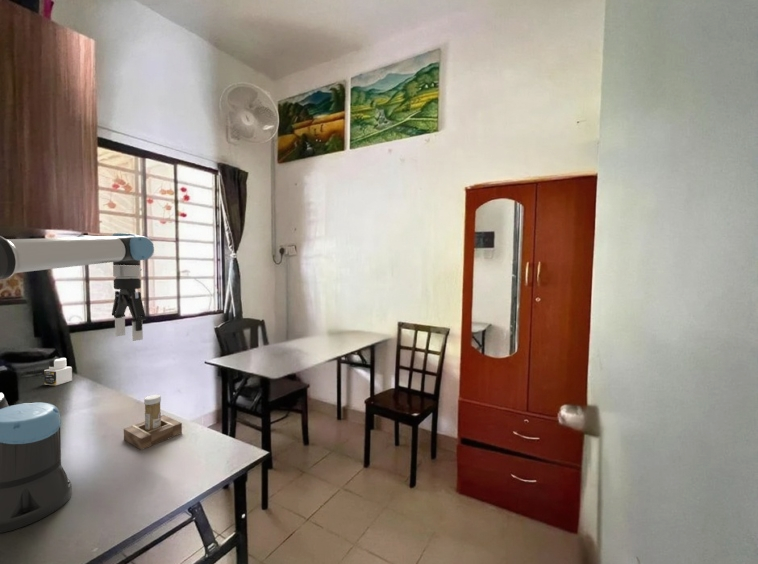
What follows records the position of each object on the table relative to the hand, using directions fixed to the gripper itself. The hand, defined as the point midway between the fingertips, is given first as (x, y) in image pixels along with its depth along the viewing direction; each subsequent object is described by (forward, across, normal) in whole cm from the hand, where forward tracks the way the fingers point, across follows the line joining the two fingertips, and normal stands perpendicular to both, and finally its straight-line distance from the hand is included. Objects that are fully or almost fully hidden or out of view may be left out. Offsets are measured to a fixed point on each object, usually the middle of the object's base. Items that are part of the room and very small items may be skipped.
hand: (128, 337), depth 114 cm
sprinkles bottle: (+32, -14, -1) cm, 35 cm away
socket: (+32, -14, -1) cm, 35 cm away
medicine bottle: (+32, +82, -1) cm, 88 cm away
